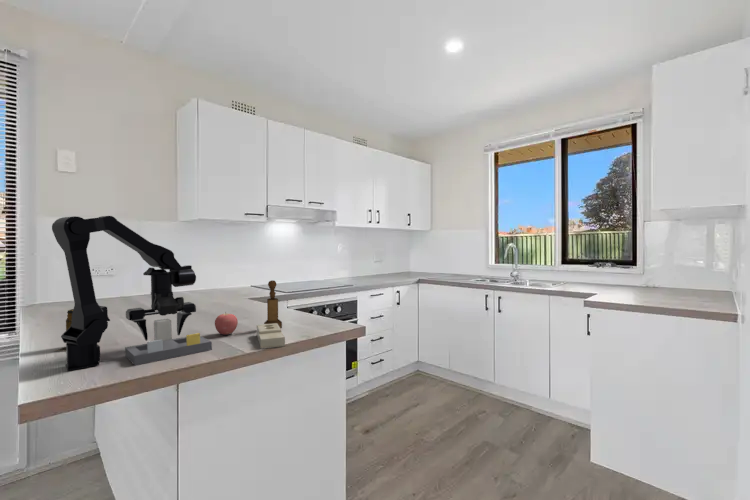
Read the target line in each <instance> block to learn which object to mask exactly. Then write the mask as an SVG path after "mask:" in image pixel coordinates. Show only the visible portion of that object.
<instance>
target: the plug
mask: <svg viewBox="0 0 750 500" xmlns="http://www.w3.org/2000/svg"><path fill="white" fill-rule="evenodd" d="M172 333H173V331H172V320H171V319H170V318H163V319H156V320H155V319H154V320H153V341H155V340H161V339H162V340H163V341H165V340H170V339H173V338H172V337H173V336H172Z"/></svg>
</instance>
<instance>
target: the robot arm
mask: <svg viewBox="0 0 750 500" xmlns="http://www.w3.org/2000/svg"><path fill="white" fill-rule="evenodd" d="M51 230H52V234H53V236H54V238H55V241H56V242H57V244H58V246H59V247H60V248H61V249H62V251H63V253H64V255H65V256H64V257H65V260H66V261H65V262H66V266H67V272H68V276H69V280H70V281H69V282H70V286H71V292H72V297H73V301H74V306H73V308H72V309H73V312H72V325H71V326H70V327H69V328H68V329H67V330H66V329H65V331H64V332H63V333H62V334H61V336H60V338H61V340H62V342H63V343H64V344H65V347H66V351H65V353H66V363H65V368H66V369H67V371H68V372H69V371H71V372H72V371H75V370H81V369H86V368H90V367H96V366H99V365H100V362H101V346H100V345H99V344H98V343H100V342H101V340H102V337H103V334H104V333H105V331H106V330H107V329H108V327H109V326H108V325H109V323H108V322H111V319H110V318H109V316H108V314H109V313H108V306H104V305H99V303H98V301H97V297H96V293H95V287H94V283H93V281H94V280H93V277H92V276H93V275H92V272H91V267H90V266H91V265H90V262H89V256H88V250H87V249H88V246H89V243H90V239H91V233H97V232H102V231H103V232H104V233H106V234H108V235H109V236H111V237H113V238H114V239H116V240H117V241H119V242H120V243H122V244H123V245H125V246H126V247H129V249H132V251H135V252H136V253H137V254H138V255H140V258H141V259H142V260H143V261H145V263H146V264H147V265H149V266H150V267H148V269H147V270H146V271H145V272H143V276H149V277H150V290H151V291H150V298H151V305H150V308H148V309H144V308H142V307H135V308H134V307H133V308H127V309H126V311H125V319H126V320H128V321H132V322H134V323H136V324H137V326H138V328H139V330H140V332H141V334H142V336H143V338H144V340H145V341H146V342H148V329H147V319H146V318H145V317H146V316H152V315H153V316H154V315H159V316H166V315H176V332H177V336H180V335H181V332H182V330H183V327H184V324H185V322H186V320H187V318H189V316H191V315H192V314H193V313H196V312H197V306H196V304H195V303H193V302H190V301H187V302H185V299H184V297H183V296H178V297H174V292H173V287H175V288H177V287H179V288H180V287H188V286H194V284H195V283H196V281H197V276H196V275H197V274H196V272H195V270H194V269H193V268H192V267H193V266H192V265H191V264H190V265H183V266H182V265H181V264H180V263H179V261H178V260H177V259H176V258H175V253H174V252H173V251H172V250H170V249H169V248H166V247H164V246H162V245H158V244H156V243H153V242H151V241H149V240H147V238H145V237H143V236H141V235H140V234H138V233H137V232H136V231H134V230H132V229H131V228H129V227H128V226H126V225H125V224H123V223H122V222H120V221H119V220H118V219H117V218H116V217H114V216H113V215H101V216H98V217H94V218H92V217H91V218H84V217H81V216H64V217H59V218H57V219H56V220H55V221H54V222H53V223H52V225H51ZM156 268H159V269H156ZM66 343H68V344H66Z"/></svg>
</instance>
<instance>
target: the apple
mask: <svg viewBox="0 0 750 500" xmlns="http://www.w3.org/2000/svg"><path fill="white" fill-rule="evenodd" d="M238 322H239V321H238V318H237V316H236V315H234V314H232V313H227V311H225V313H221V314H219V315H218V316H217V317H216V318H215V319H214V327H215V330H216V331H217V332H218V333H219V334H220V335H223V336H225V335H231V334H232V333H234V332H235V330H236V329H237V326H238Z"/></svg>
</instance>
